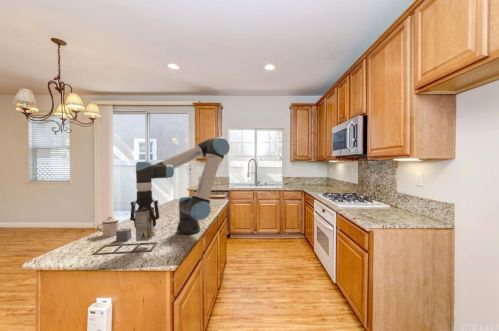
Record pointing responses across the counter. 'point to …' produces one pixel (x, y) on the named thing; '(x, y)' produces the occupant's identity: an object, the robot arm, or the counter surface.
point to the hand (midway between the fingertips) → (145, 232)
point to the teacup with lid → (109, 226)
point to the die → (123, 234)
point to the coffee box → (143, 224)
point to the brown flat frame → (125, 251)
